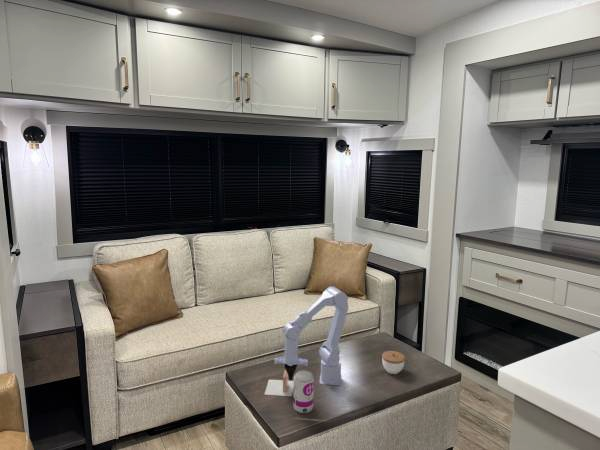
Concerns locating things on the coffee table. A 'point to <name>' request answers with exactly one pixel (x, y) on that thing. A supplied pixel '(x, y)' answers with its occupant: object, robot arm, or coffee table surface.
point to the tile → (285, 381)
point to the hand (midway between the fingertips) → (290, 379)
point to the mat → (279, 388)
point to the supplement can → (303, 391)
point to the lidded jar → (393, 361)
